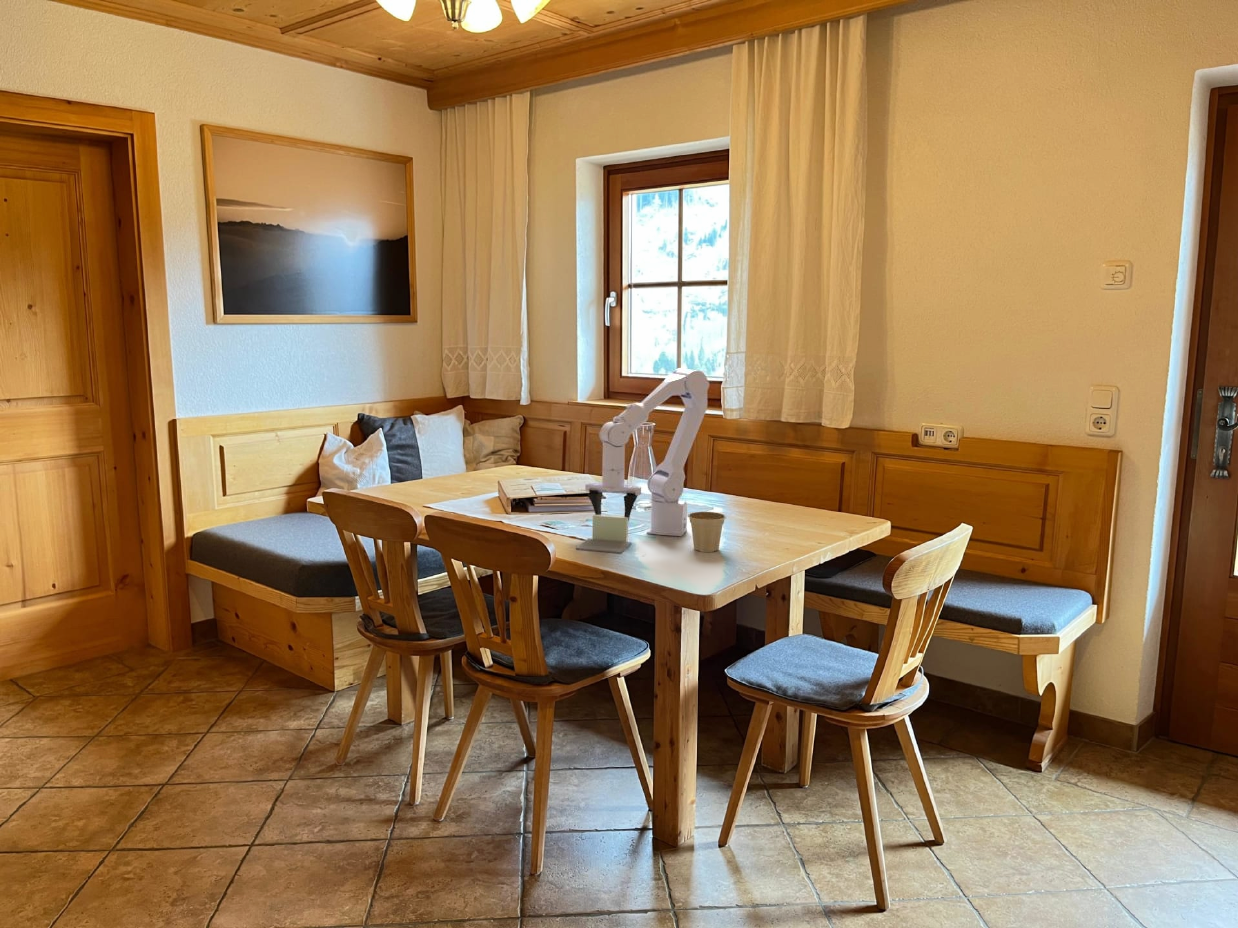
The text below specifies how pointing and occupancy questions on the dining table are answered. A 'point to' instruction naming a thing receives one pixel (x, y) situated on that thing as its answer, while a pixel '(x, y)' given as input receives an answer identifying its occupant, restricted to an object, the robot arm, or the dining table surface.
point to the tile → (610, 528)
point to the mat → (604, 545)
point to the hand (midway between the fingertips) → (612, 520)
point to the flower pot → (706, 530)
